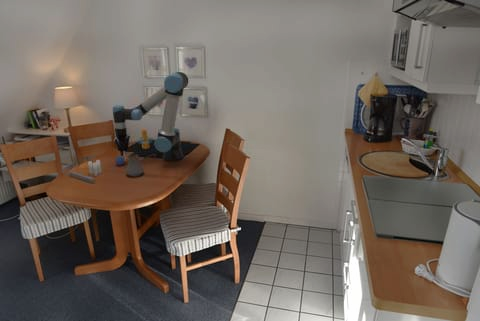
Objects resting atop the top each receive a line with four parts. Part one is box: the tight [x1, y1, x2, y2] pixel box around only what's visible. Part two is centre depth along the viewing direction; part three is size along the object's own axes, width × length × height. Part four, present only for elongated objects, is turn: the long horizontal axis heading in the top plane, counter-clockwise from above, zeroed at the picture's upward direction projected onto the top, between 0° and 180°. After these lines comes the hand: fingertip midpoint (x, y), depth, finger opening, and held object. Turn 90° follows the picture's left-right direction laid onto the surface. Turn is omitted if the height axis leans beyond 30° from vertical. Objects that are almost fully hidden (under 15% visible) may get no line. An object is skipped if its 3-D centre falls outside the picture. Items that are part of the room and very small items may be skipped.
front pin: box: [95, 159, 102, 174], centre depth 224 cm, size 2×2×8 cm
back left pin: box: [92, 162, 99, 177], centre depth 219 cm, size 2×2×8 cm
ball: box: [114, 156, 125, 166], centre depth 238 cm, size 6×6×6 cm
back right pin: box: [87, 160, 94, 175], centre depth 222 cm, size 2×2×8 cm
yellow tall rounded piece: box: [137, 129, 154, 150], centre depth 274 cm, size 12×10×15 cm
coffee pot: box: [125, 153, 157, 177], centre depth 218 cm, size 21×12×15 cm, turn 82°
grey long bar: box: [68, 171, 96, 184], centre depth 215 cm, size 24×2×2 cm, turn 58°
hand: (124, 159), depth 242 cm, fingers closed
